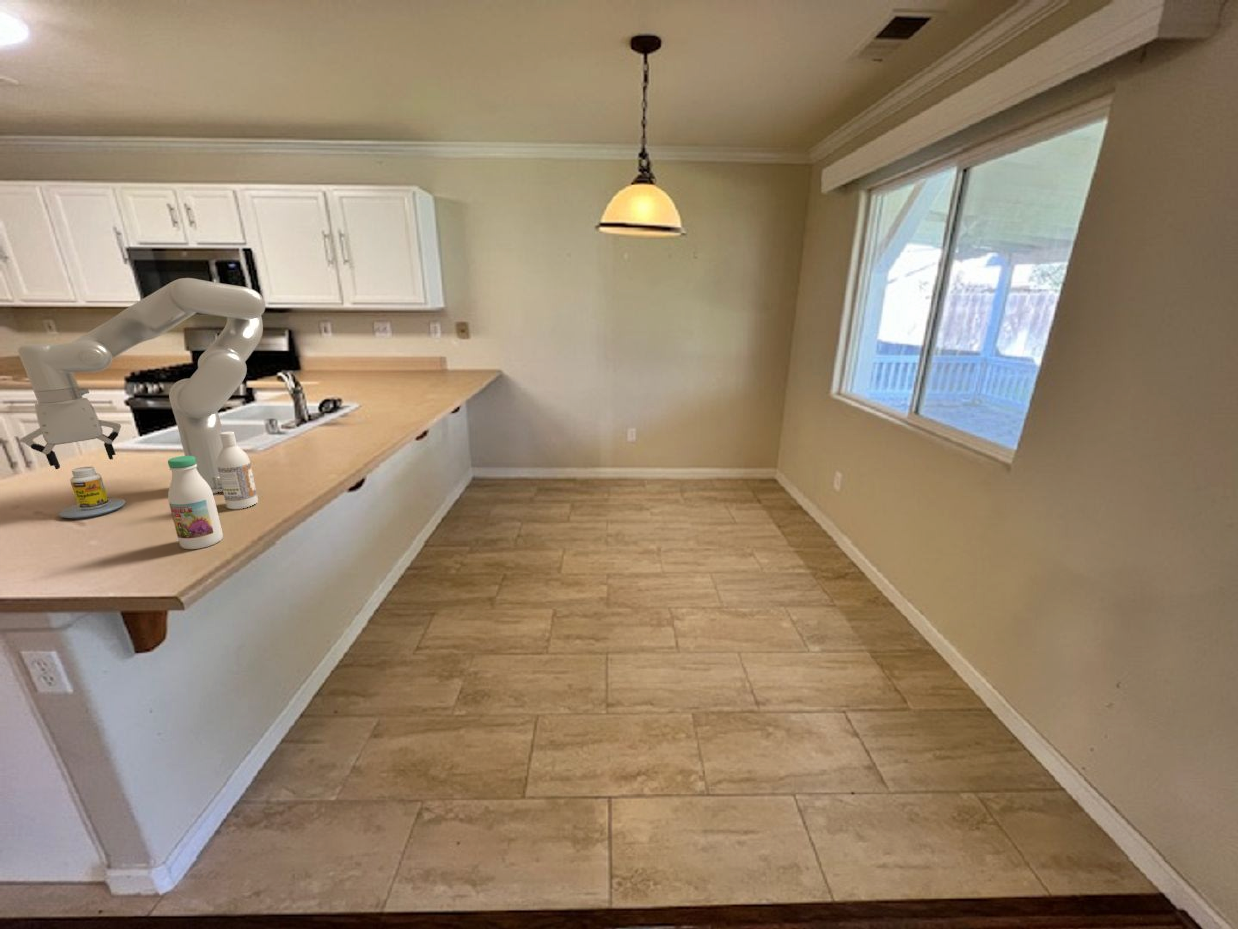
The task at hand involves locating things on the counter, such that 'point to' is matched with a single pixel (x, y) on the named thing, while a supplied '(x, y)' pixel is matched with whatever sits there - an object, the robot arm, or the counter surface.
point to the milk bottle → (192, 505)
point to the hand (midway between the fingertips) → (85, 463)
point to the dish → (92, 510)
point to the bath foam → (235, 474)
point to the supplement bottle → (88, 488)
